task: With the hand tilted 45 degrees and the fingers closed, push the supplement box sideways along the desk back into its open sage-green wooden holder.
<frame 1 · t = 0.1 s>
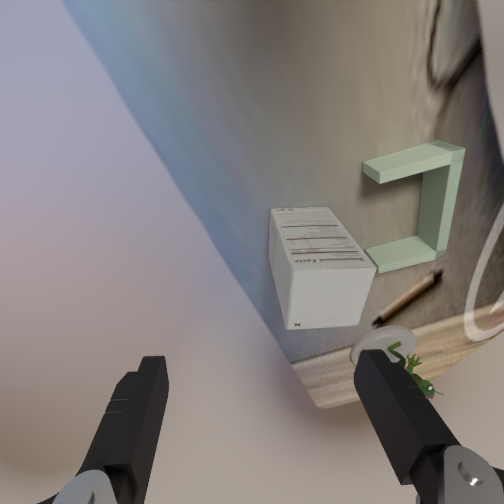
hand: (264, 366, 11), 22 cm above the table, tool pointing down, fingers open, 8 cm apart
supplement box: (296, 231, 34), on the table
monster figurine: (381, 346, 49), on the table
holder: (379, 209, 33), on the table
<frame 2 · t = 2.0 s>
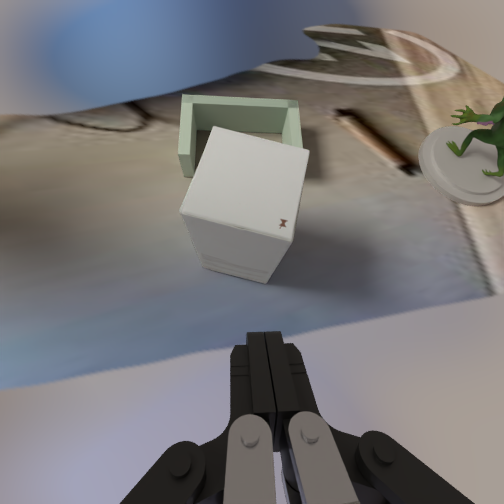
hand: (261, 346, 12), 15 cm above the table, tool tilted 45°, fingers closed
supplement box: (241, 245, 29), on the table
monster figurine: (460, 167, 35), on the table
holder: (240, 164, 32), on the table
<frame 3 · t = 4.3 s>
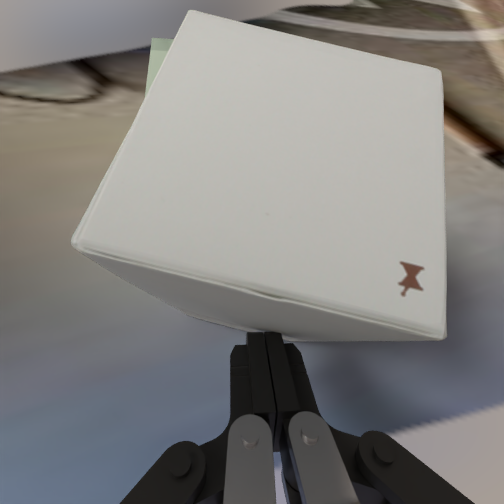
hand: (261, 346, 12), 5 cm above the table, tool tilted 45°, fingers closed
supplement box: (251, 275, 18), on the table, touching gripper
holder: (246, 151, 21), on the table
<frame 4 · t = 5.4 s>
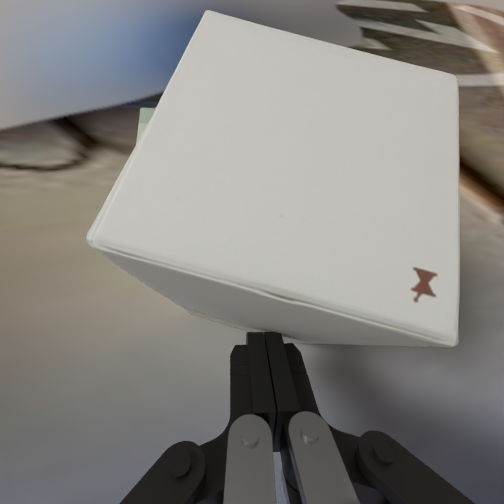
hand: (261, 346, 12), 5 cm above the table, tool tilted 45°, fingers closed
supplement box: (255, 275, 18), on the table, touching gripper
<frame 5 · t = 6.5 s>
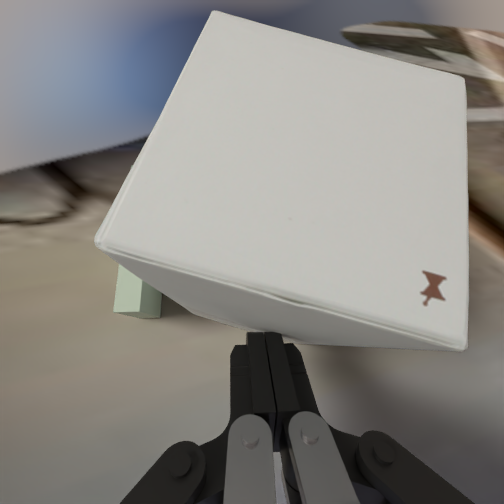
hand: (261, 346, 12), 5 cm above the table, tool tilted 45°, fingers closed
supplement box: (258, 275, 18), on the table, touching gripper, holder
holder: (247, 284, 17), on the table
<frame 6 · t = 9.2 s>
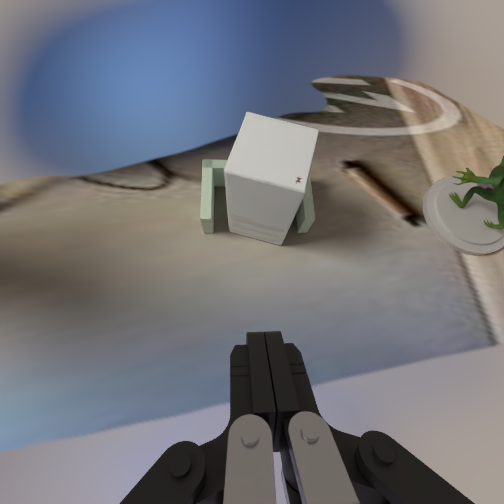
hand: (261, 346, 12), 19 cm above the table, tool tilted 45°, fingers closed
supplement box: (261, 215, 35), on the table
monster figurine: (462, 216, 37), on the table
holder: (255, 219, 35), on the table
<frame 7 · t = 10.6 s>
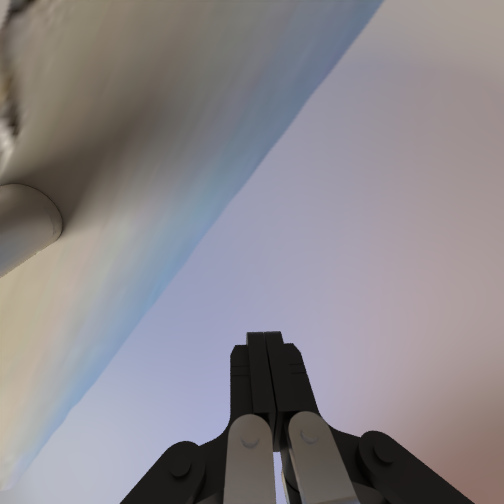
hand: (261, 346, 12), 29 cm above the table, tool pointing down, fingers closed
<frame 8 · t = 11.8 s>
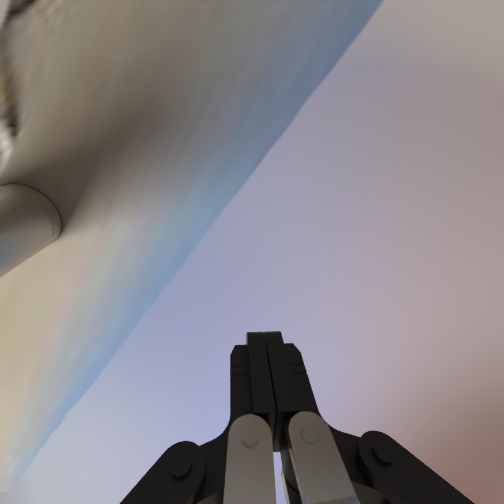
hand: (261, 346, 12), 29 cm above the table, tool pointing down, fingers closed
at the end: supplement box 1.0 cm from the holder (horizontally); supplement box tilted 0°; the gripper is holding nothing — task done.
